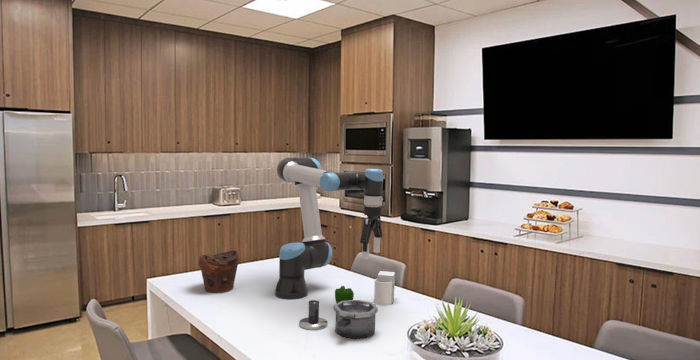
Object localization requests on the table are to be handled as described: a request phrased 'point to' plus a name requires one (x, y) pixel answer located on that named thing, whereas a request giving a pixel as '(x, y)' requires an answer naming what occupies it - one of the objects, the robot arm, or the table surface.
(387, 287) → the cup
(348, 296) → the bell pepper
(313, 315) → the lid
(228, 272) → the chocolate muffin
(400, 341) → the table surface
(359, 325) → the pot
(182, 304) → the table surface
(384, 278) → the supplement box
